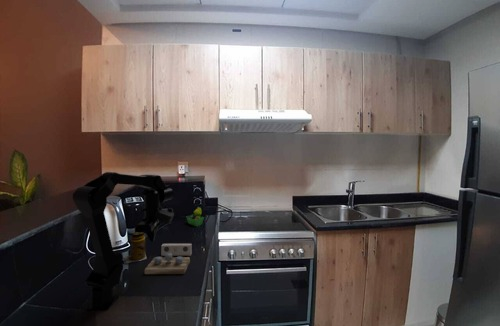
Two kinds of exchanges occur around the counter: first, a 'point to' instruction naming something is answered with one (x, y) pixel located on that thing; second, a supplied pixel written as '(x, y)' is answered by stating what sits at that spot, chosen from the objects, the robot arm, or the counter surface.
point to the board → (168, 267)
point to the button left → (157, 260)
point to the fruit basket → (196, 218)
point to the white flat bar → (176, 249)
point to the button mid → (168, 257)
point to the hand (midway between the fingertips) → (152, 241)
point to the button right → (179, 260)
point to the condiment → (137, 248)
